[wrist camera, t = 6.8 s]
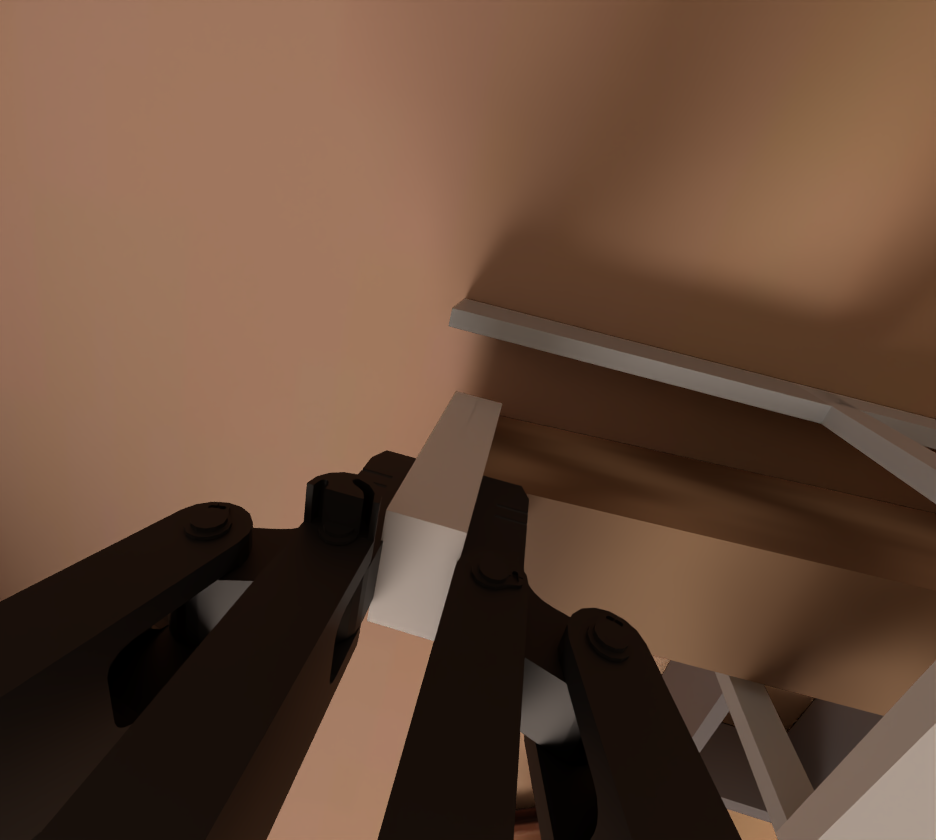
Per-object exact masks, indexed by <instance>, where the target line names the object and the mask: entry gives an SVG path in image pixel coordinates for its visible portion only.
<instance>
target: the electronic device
mask: <svg viewBox="0 0 936 840" xmlns="http://www.w3.org/2000/svg"><path fill="white" fill-rule="evenodd" d="M514 840H541V835H540V830H539V824H538V818H537V812H536V807H531V808H524V809H519V810H515V826H514Z"/></svg>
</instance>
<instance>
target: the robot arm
mask: <svg viewBox="0 0 936 840" xmlns="http://www.w3.org/2000/svg"><path fill="white" fill-rule="evenodd" d="M501 407H502V403H499V402H495V401H491V400H488V399H484V398H480V397H476V396H473V395H469V394H465V393H461V392H457V391H456V392H455V394H454V395H453V397H452V399H451V401H450V402H449V404H448V406H447V407H446V409H445V411H444V412H443V414H442V416H441V418H440V419H439V421H438V423H437V424H436V426H435V428H434V429H433V431H432V433H431V435H430V436H429V438H428V440H427V441H426V443H425V445H424V446H423V448H422V450H421V452H420V453H419V455H418V457H417V458H413V457H409V456H405V455H402V454H398V453H395V452H391V451H384V452H382V453H380V454H378V455H376V456H374V457H372V458H371V459H370V460H369V462H368V463H367V464H366V465H365V467H364V468H363V471H362V470H361V472H360V473H359V474H351V473H345V472H339V473H327V474H324V475H320V476H317V477H315V478H314V479H312V480H311V481H309V482H308V483H307V489H306V501H305V513H304V522H303V523H302V524H301V525H300V526H299V528H295V529H265V528H253V522H252V519H251V516H250V514H249V513H248V512H247V511H246V510H245V509H243V508H242V507H240V506H237V505H234V504H231V503H224V502H208V503H201V504H196V505H193V506H190V507H187V508H185V509H182V510H180V511H178V512H176V513H174V514H172V515H170V516H168V517H166V518H164V519H162V520H160V521H158V522H156V523H154V524H152V525H150V526H148V527H146V528H144V529H142V530H140V531H138V532H136V533H134V534H132V535H130V536H129V537H127V538H125V539H123V540H121V541H119V542H117V543H115V544H113V545H111V546H109V547H107V548H105V549H103V550H101V551H99V552H97V553H95V554H93V555H91V556H89V557H87V558H85V559H83V560H81V561H79V562H77V563H75V564H73V565H72V566H70V567H68V568H66V569H64V570H62V571H60V572H58V573H56V574H54V575H52V576H50V577H48V578H46V579H44V580H42V581H40V582H38V583H36V584H34V585H32V586H30V587H28V588H26V589H24V590H22V591H20V592H18V593H16V594H15V595H13V596H11V597H9V598H7V599H5V600H3V601H1V602H0V840H266V839H267V837H268V835H269V833H270V831H271V829H272V826H273V824H274V822H275V820H276V818H277V816H278V813H279V811H280V809H281V807H282V805H283V803H284V801H285V798H286V796H287V794H288V792H289V790H290V788H291V785H292V783H293V781H294V779H295V777H296V775H297V773H298V770H299V768H300V766H301V764H302V762H303V760H304V757H305V755H306V753H307V751H308V749H309V747H310V745H311V742H312V740H313V738H314V736H315V734H316V732H317V730H318V727H319V725H320V723H321V721H322V719H323V717H324V714H325V712H326V710H327V708H328V706H329V704H330V702H331V699H332V697H333V695H334V693H335V691H336V689H337V686H338V684H339V682H340V680H341V678H342V676H343V674H344V671H345V669H346V667H347V665H348V663H349V661H350V659H351V656H352V654H353V652H354V650H355V648H356V646H357V642H358V638H359V633H360V627H361V623H362V621H363V619H364V616H365V614H366V612H367V610H368V608H369V606H370V608H369V613H368V619H367V621H369V622H373V623H376V624H379V625H383V626H386V627H389V628H393V629H396V630H399V631H402V632H406V633H409V634H412V635H416V636H419V637H422V638H425V639H429V640H432V641H434V643H433V647H432V650H431V654H430V657H429V661H428V664H427V668H426V671H425V675H424V678H423V682H422V685H421V689H420V692H419V696H418V699H417V703H416V706H415V710H414V713H413V717H412V720H411V724H410V727H409V731H408V734H407V738H406V741H405V745H404V749H403V752H402V756H401V759H400V763H399V766H398V770H397V773H396V777H395V780H394V784H393V787H392V791H391V794H390V798H389V801H388V805H387V808H386V812H385V815H384V819H383V822H382V826H381V829H380V833H379V836H378V840H514V826H515V810H516V793H517V777H518V760H519V743H520V732H522V733H523V734H524V742H525V748H526V754H527V759H528V765H529V771H530V777H531V783H532V789H533V794H534V800H535V806H536V812H537V818H538V824H539V830H540V835H541V840H742V839H741V837H740V835H739V833H738V831H737V829H736V827H735V825H734V823H733V821H732V819H731V817H730V815H729V813H728V811H727V809H726V807H725V804H724V802H723V800H722V798H721V796H720V794H719V792H718V790H717V788H716V786H715V784H714V782H713V780H712V778H711V776H710V774H709V772H708V770H707V767H706V765H705V763H704V761H703V759H702V757H701V755H700V753H699V751H698V749H697V747H696V745H695V743H694V741H693V739H692V737H691V735H690V733H689V730H688V728H687V726H686V724H685V722H684V720H683V718H682V716H681V714H680V712H679V710H678V708H677V706H676V704H675V702H674V700H673V698H672V696H671V693H670V691H669V689H668V687H667V685H666V683H665V681H664V679H663V677H662V675H661V673H660V671H659V669H658V667H657V665H656V663H655V661H654V659H653V656H652V654H651V652H650V650H649V648H648V646H647V644H646V643H645V641H644V640H643V638H642V637H641V635H640V634H639V633H638V631H637V630H636V629H635V628H634V627H632V626H631V625H630V624H629V623H628V622H627V621H626V620H624V619H623V618H621V617H619V616H617V615H615V614H614V613H612V612H610V611H606V610H603V609H599V608H582V609H580V610H578V611H576V612H575V613H573V614H572V615H571V617H569V616H567V615H566V614H564V613H562V612H560V611H559V610H557V609H555V608H553V607H552V606H550V605H549V604H547V603H546V602H544V601H543V600H542V599H541V598H540V597H539V596H538V595H537V594H535V593H534V591H533V590H532V589H531V587H530V586H529V584H528V579H527V575H526V573H525V572H524V560H525V547H526V534H527V520H528V507H529V498H528V497H527V495H526V493H525V491H524V489H523V487H522V486H520V485H516V484H513V483H509V482H505V481H502V480H498V479H494V478H491V477H487V476H483V473H484V470H485V466H486V462H487V459H488V455H489V451H490V448H491V444H492V440H493V437H494V433H495V429H496V426H497V422H498V418H499V414H500V411H501Z"/></svg>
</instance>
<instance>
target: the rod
mask: <svg viewBox="0 0 936 840" xmlns="http://www.w3.org/2000/svg"><path fill="white" fill-rule="evenodd" d="M483 476H487V477H491V478H494V479H498V480H502V481H505V482H509V483H513V484H516V485H520V486H522V487H523V489H524V491H525V493H526V495H527V497H528V498H529V507H528V520H527V534H526V547H525V560H524V572H525V573H526V575H527V579H528V584H529V586H530V587H531V589H532V590H533V591H534V593H535V594H537V595H538V596H539V597H540V598H541V599H542V600H543V601H544V602H546V603H547V604H549V605H550V606H552V607H553V608H555V609H557V610H559V611H560V612H562V613H564V614H566V615H567V616H569V617H571V615H572V614H573V613H575V612H576V611H578V610H580V609H582V608H599V609H603V610H606V611H610V612H612V613H614V614H615V615H617V616H619V617H621V618H623V619H624V620H626V621H627V622H628V623H629V624H630V625H631V626H632V627H634V628H635V629H636V630H637V631H638V633H639V634H640V635H641V637H642V638H643V640H644V641H645V643H646V644H647V646H648V648H649V650H650V652H651V654H652V655H653V656H657V657H661V658H665V659H668V660H672V661H676V662H680V663H684V664H687V665H691V666H695V667H699V668H703V669H707V670H710V671H714V672H718V673H722V674H726V675H730V676H733V677H737V678H741V679H745V680H749V681H752V682H756V683H760V684H764V685H768V686H772V687H775V688H779V689H783V690H787V691H791V692H794V693H798V694H802V695H806V696H810V697H814V698H817V699H821V700H825V701H829V702H833V703H836V704H840V705H844V706H848V707H852V708H856V709H859V710H863V711H867V712H871V713H875V714H878V715H882V716H884V715H885V714H886V713H887V712H888V711H889V710H890V709H891V708H892V707H893V706H894V705H895V704H896V702H897V701H898V700H899V699H900V698H901V697H902V696H903V695H904V694H905V693H906V692H907V691H908V690H909V688H910V687H911V686H912V685H913V684H914V683H915V682H916V681H917V680H918V679H919V678H920V677H921V676H922V674H923V673H924V672H925V671H926V670H927V669H928V668H929V667H930V666H931V665H932V664H933V663H934V662H935V660H936V514H935V513H931V512H927V511H922V510H918V509H913V508H909V507H904V506H900V505H895V504H891V503H886V502H882V501H878V500H873V499H869V498H864V497H860V496H855V495H851V494H846V493H842V492H837V491H833V490H829V489H824V488H820V487H815V486H811V485H806V484H802V483H797V482H793V481H788V480H784V479H779V478H775V477H771V476H766V475H762V474H757V473H753V472H748V471H744V470H739V469H735V468H730V467H726V466H722V465H717V464H713V463H708V462H704V461H699V460H695V459H690V458H686V457H681V456H677V455H673V454H668V453H664V452H659V451H655V450H650V449H646V448H641V447H637V446H632V445H628V444H623V443H619V442H615V441H610V440H606V439H601V438H597V437H592V436H588V435H583V434H579V433H574V432H570V431H566V430H561V429H557V428H552V427H548V426H543V425H539V424H534V423H530V422H525V421H521V420H517V419H512V418H508V417H503V416H499V418H498V422H497V426H496V429H495V433H494V437H493V440H492V444H491V448H490V451H489V455H488V459H487V462H486V466H485V470H484V473H483Z"/></svg>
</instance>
